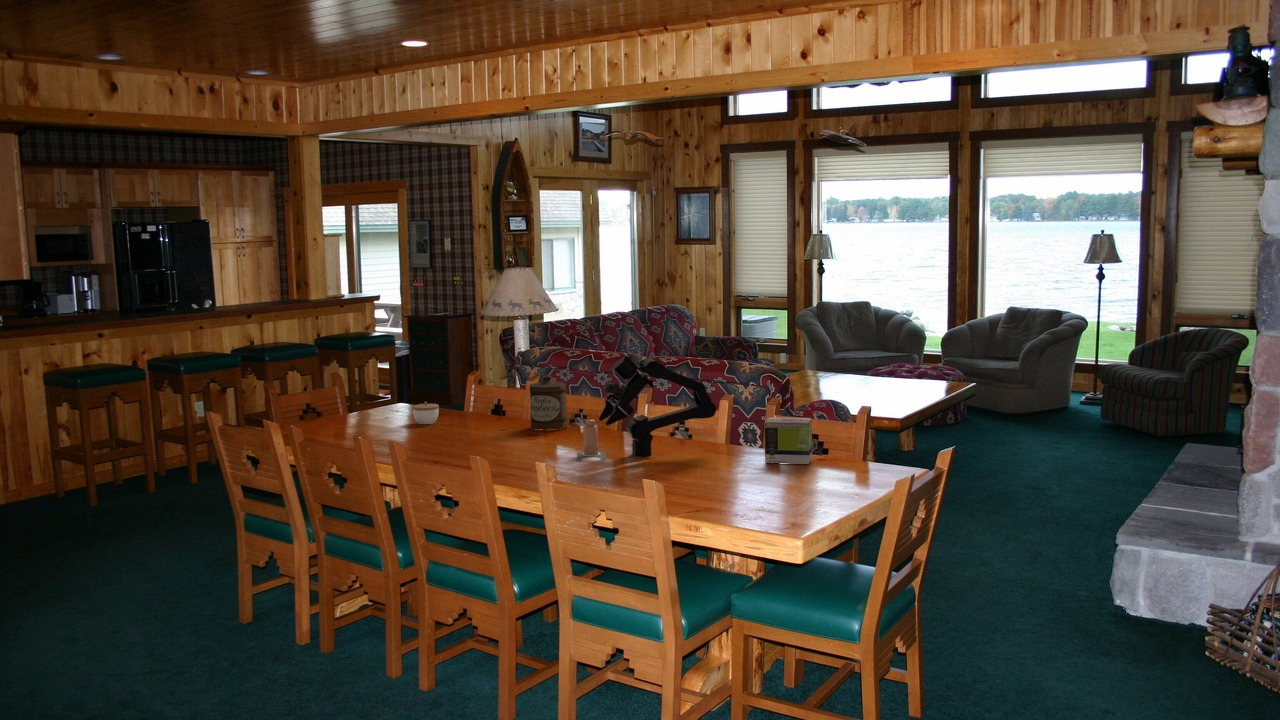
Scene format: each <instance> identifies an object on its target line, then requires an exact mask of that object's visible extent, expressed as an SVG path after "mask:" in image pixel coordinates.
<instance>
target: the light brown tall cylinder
mask: <svg viewBox="0 0 1280 720" xmlns="http://www.w3.org/2000/svg"><path fill="white" fill-rule="evenodd" d="M582 426H583V428H582V429H583V452H584V454H585V455H597V454H598V452H599V432H598V431H599V430H598V429H599V427H598V426H599V425H598V424H596V420H595V419H585V424H584V425H582Z"/></svg>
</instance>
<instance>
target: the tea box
mask: <svg viewBox="0 0 1280 720" xmlns="http://www.w3.org/2000/svg"><path fill="white" fill-rule="evenodd" d="M812 422H813V421H812V418H811V417H768V418H767V419H766V420H765V421H764V425H763V426H764V458H765V459H764V464H765V463H790V464H809V463H810V464H811V462H810V460H811V457H812V458H813V430H812V429H813V428H812V427H813V426H812V425H813V423H812ZM811 461H812V460H811ZM810 464H809V465H810Z"/></svg>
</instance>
